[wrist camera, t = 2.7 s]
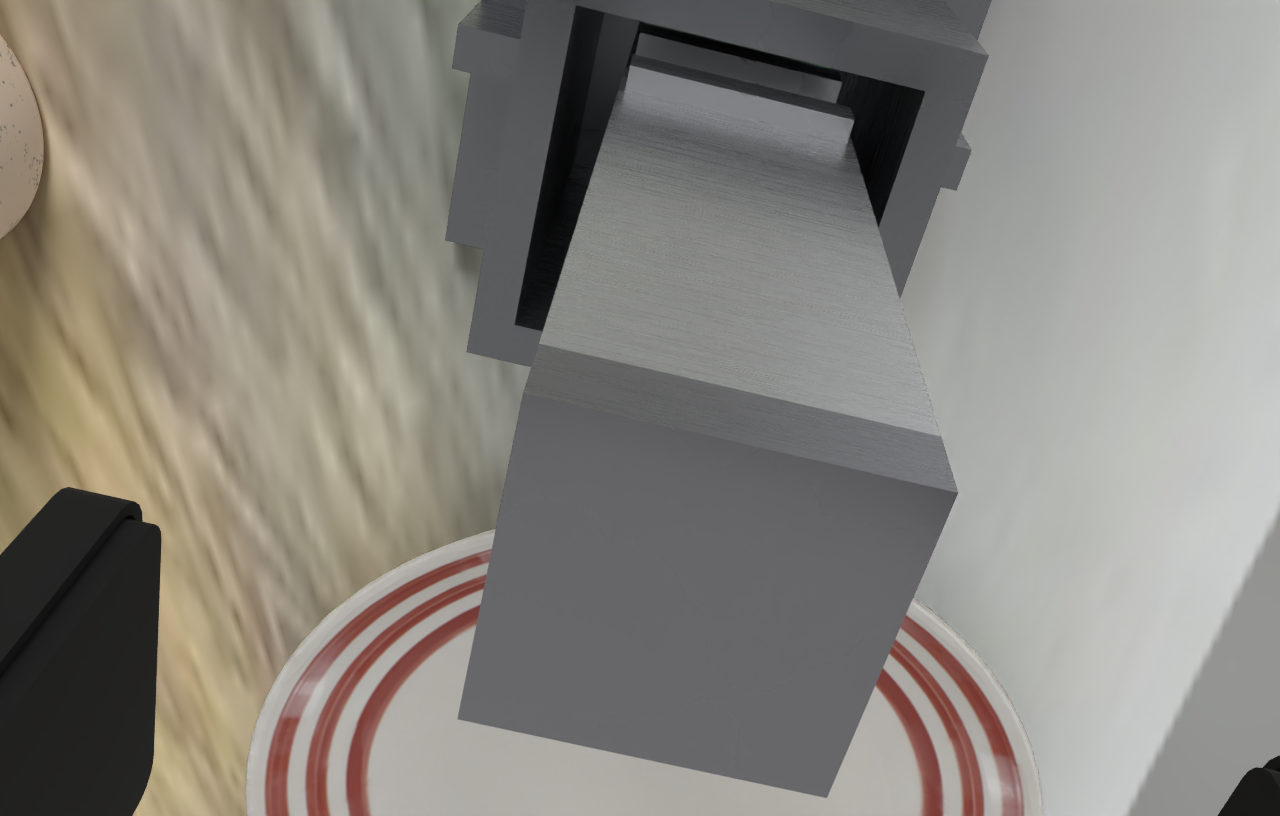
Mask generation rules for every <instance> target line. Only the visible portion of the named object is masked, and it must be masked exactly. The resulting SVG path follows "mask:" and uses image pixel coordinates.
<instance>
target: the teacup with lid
mask: <svg viewBox="0 0 1280 816" xmlns="http://www.w3.org/2000/svg"><path fill="white" fill-rule="evenodd" d="M43 158H44V140H43V130H42V124H41V118H40V113H39V110H38V106H37V103H36V99H35V96H34V94H33V91H32V88H31V86H30V83H29V81H28V79H27V77H26V75H25V73H24V71H23V68H22V66H21V65H20V63H19V61H18V60H17V58H16V56H15V54H14V53H13V51H12V50H11V48H10V47H9V45H8V44H7V43H6V41H5V40H4V38H3V37H2V36H1V34H0V239H2V238H3V237H4V236H5V235H7V234H8V233H9V232H10V231H11V230H12V229H13V228H14V227H15V226H16V225H17V224H18V222H19V221H20V220H21V219H22V218H23V216H24V215H25V213H26V212H27V210H28V209H29V207H30V205H31V203H32V201H33V199H34V197H35V194H36V192H37V189H38V186H39V182H40V178H41V173H42V167H43Z"/></svg>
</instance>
